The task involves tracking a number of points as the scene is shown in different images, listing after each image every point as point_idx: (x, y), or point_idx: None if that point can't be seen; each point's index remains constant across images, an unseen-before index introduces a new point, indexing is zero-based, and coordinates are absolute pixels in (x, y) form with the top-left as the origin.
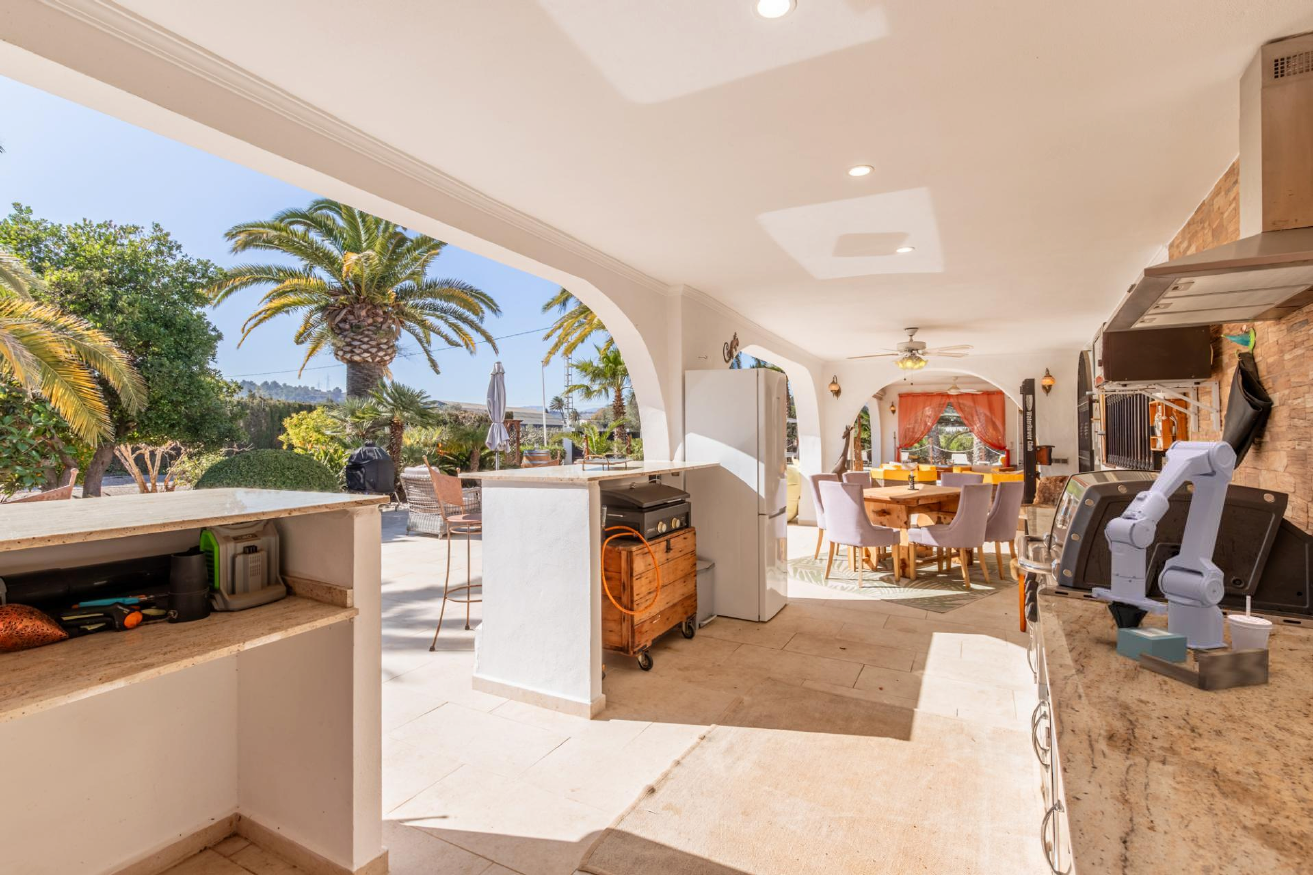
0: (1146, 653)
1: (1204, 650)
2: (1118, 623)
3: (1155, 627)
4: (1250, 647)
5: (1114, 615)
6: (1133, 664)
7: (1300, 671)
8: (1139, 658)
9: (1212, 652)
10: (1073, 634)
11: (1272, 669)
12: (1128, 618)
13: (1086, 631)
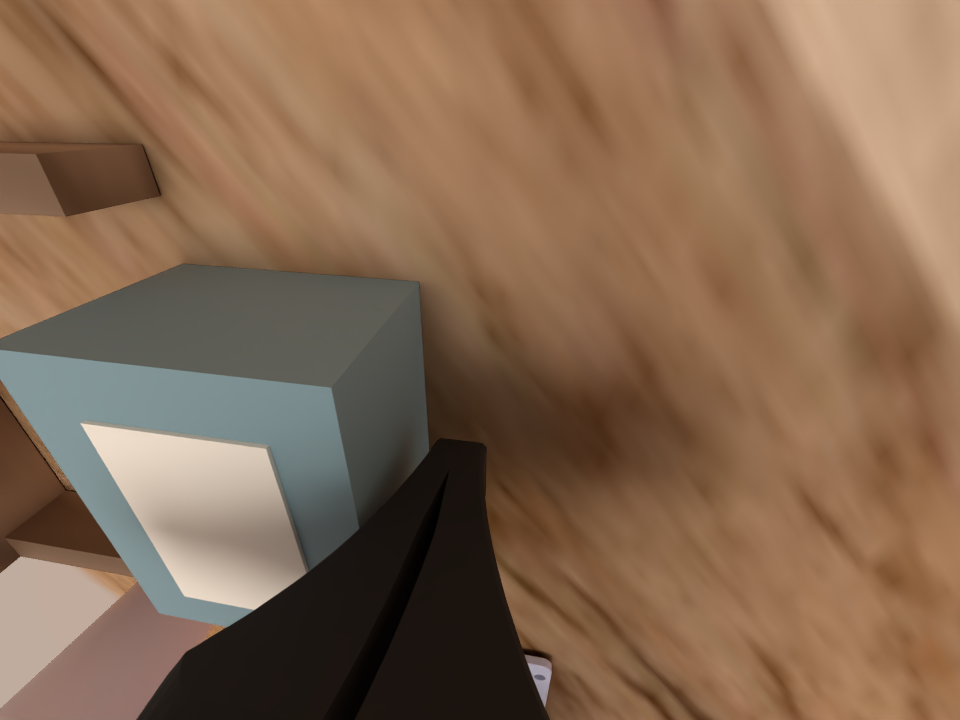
0: (159, 293)
1: None
2: (460, 538)
3: None
4: (54, 659)
5: (473, 615)
6: (182, 146)
7: None
8: (81, 152)
9: None
10: (875, 384)
11: None
12: (279, 597)
13: (836, 522)
